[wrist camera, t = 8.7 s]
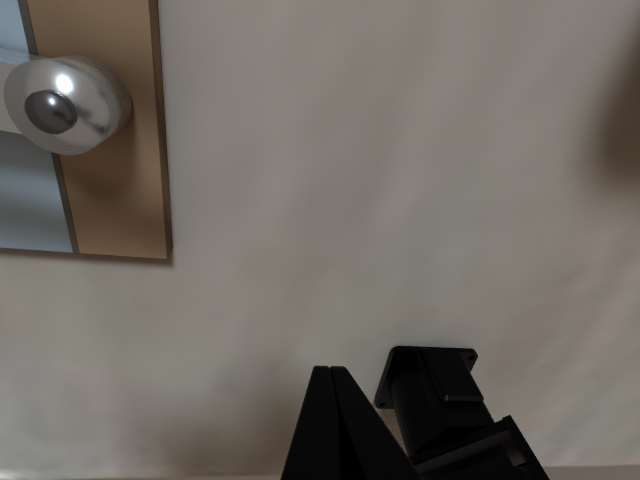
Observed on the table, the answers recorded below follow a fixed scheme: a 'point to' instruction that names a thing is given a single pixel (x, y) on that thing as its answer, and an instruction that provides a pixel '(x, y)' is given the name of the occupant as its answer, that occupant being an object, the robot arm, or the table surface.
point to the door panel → (106, 158)
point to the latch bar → (61, 100)
